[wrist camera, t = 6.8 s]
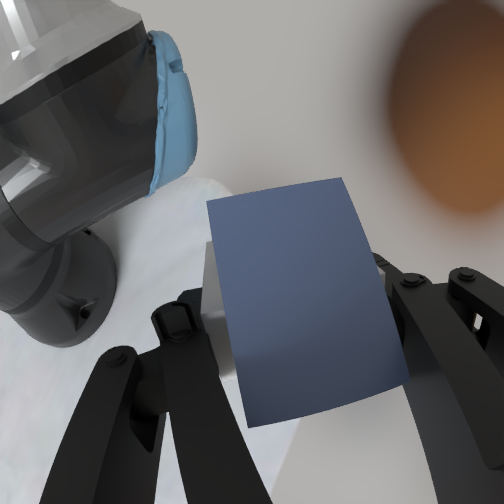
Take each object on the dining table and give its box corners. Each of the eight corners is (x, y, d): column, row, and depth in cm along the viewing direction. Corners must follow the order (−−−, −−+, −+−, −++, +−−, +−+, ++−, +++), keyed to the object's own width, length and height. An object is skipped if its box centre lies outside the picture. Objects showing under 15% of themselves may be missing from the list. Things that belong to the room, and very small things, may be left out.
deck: (236, 299, 18) (204, 201, 8) (305, 284, 18) (342, 177, 9) (257, 401, 15) (246, 428, 6) (330, 384, 15) (412, 380, 6)
